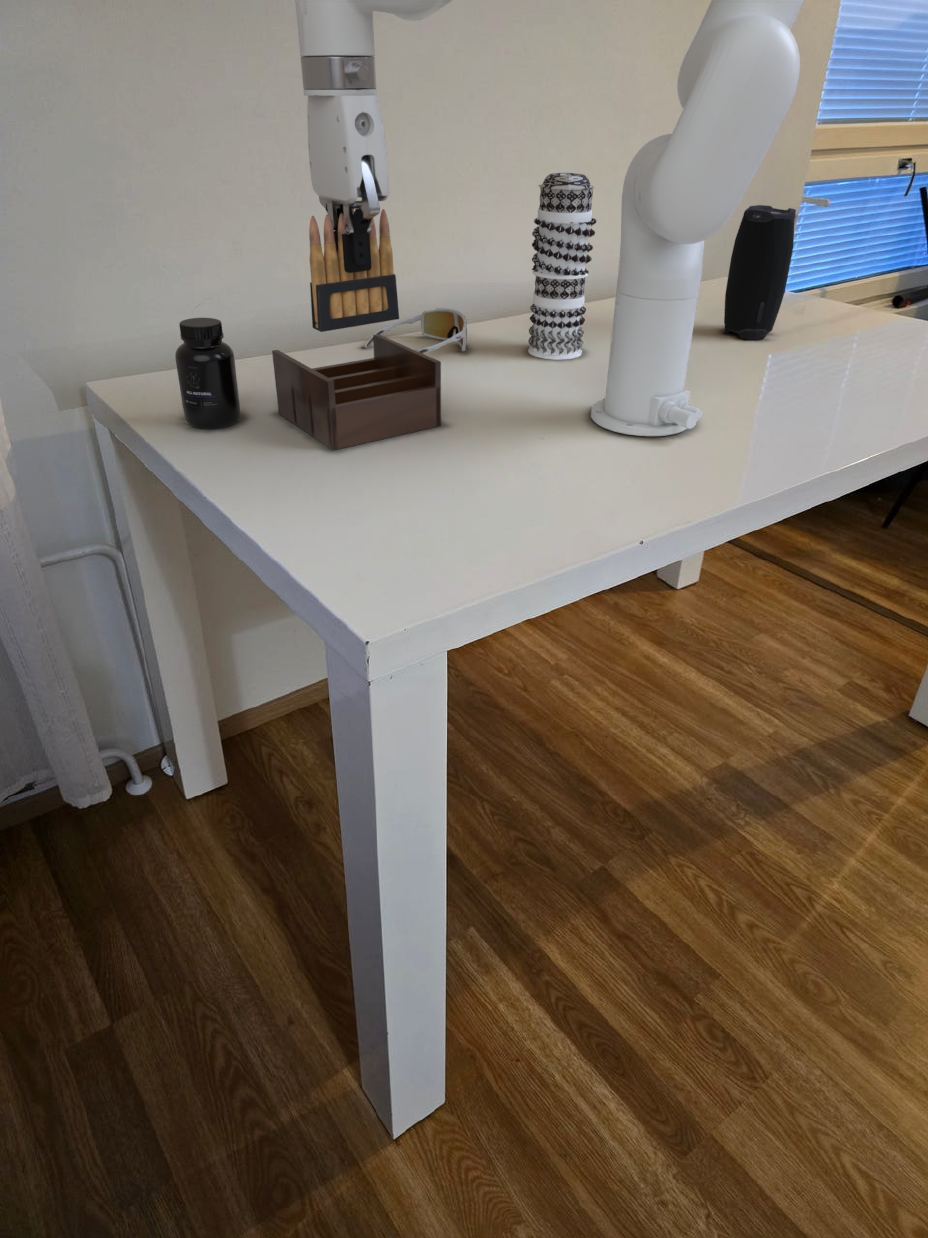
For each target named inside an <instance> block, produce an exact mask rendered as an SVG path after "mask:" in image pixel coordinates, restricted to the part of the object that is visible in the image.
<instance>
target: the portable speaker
mask: <svg viewBox="0 0 928 1238" xmlns="http://www.w3.org/2000/svg"><path fill="white" fill-rule="evenodd" d="M796 212H797V209H795V208H790V207H789V208H788V209H781V208H774V207H773V206H771V205H765V204H756V205H750V206H748V208H746V209H745V210H744V212H743V215H742V218H741V221H740V223H739V227H738V230H737V233H736V236H735V239H734V243H733V247H732V252H731V256H730V261H729V262H730V263H729V268H728V275H727V281H726V286H725V287H726V288H725V292H724V293H725V294H724V317H723V324H724V328H723V334H725V335H727V334H729V333H730V332H732V333H736V334H738V336H739V338H740V339H742V340H746V341H758V340H760V341H761V340H764V339H765V338H766V336H767V335H768V334H769V333H771V332H772V331H773V330H774V326H775V323H776V320H777V318H778V314H779V312H780V310H781V306H782V303H783V301H784V297H785V293H786V288H787V283H788V278H789V272H790V268H791V261H792V257H793V251H794V242H795V241H794V239H795V219H796V217H797V213H796Z"/></svg>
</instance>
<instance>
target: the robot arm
mask: <svg viewBox="0 0 928 1238" xmlns="http://www.w3.org/2000/svg"><path fill="white" fill-rule="evenodd" d="M294 1H295V11H296V13H295V14H296V23H297V33H298V34H297V35H298V45H299V55H300V68H301V79H302V89H303V96H307V107H306V108H307V115H306V116H307V145H308V162H309V170H310V178H311V180H310V181H311V185H312V189H313V191H314V193H315V195H317V196H318V201H319V203H320V205H321V206H322V207H323V208H324V209H325V211H326V214H328V215H329V217H330V219H331V222H332V226H333V230H334V237H335V244H336V251H337V255H338V222H339V216H340V214H341V213H343V215H344V228H345V232H346V234H342V244H343V257H344V269H345V271H346V272H348V273H353V272H361V271H369V270H370V269H371V251H370V235H369V233H370V232H371V221H372V218H375V217H376V216H378V215H380V214H381V207H380V202H385V201H386V200H387V199H388V198H389V196H390V176H389V165H388V164H389V163H388V153H387V144H386V143H387V142H386V134H385V128H384V122H383V114H382V110H381V105H380V104H381V103H380V100H379V97H378V92H377V91H378V90H377V74H376V73H377V72H376V71H377V70H376V57H375V56H376V53H375V52H376V51H375V49H376V48H375V35H374V34H375V33H374V31H375V30H374V14H373V13H374V12H378V13H385V14H393V15H394V16H396V17H397V18H399V19H402V20H404V21H410V22H416V21H421V20H424V19H426V18H429V17H430V16H432V15H434V14H435V13H436V12H438V11H440V10H441V9H442V8H443V7H445V6H447V5H448V4H449V3H451V2H452V1H453V0H294ZM804 2H805V0H711V1H710V3H709V5H708V7H707V10H706V12H705V14H704V16H703V18H702V20H701V22H700V25H699V28H698V29H697V31H696V33H695V35H694V36H693V39H692V41H691V43H690V45H689V47H688V48H687V51H686V53H685V55H684V58H683V59H682V62H681V66H680V68H679V72H678V77H677V83H676V85H677V86H676V88H677V90H676V91H677V96H678V100H679V103H680V106H681V108H682V111H681V113H680V115H679V117H678V120H677V122H676V124H675V126H674V129H673V130H672V133H667V134H662V135H659V136H657V137H655V138H653V139H651V140H650V141H648V142H646V143H645V144H644V145H643V146H642V147H641V148H640V149H639V150H637V152H636V154H635V155H634V157H632V159H631V161H630V163H629V165H628V167H627V169H626V173H625V176H624V179H623V180H624V181H623V185H622V194H621V217H620V218H621V220H620V248H619V260H618V271H617V273H618V274H617V281H616V290H615V291H616V292H615V301H614V309H613V319H612V329H611V336H610V337H611V339H610V349H609V357H608V358H609V359H608V366H607V376H606V386H605V395H604V398H603V399H600V400H598V401H596V402H595V403H594V404H593V405H592V406H591V411H590V418H591V419H592V421H593V422H594V423H595V424H596V425H598V426H600V427H601V428H603V429H605V430H608V431H612V432H615V433H619V434H623V435H629V436H637V437H663V436H672V435H676V434H679V433H682V432H684V431H686V430H692V429H693V428H695V426H696V425H697V422H698V421H699V420H700V419H701V418H702V417H703V415H704V414H703V413H704V410H703V409H702V408H700V407H698V406H695V405H690V403H689V402H690V396H691V391H690V390H687V389H685V384H686V379H687V370H688V364H689V358H690V351H691V346H692V339H693V333H694V325H695V319H696V313H697V307H698V300H699V295H700V290H701V283H702V277H703V267H704V257H705V241H706V240H708V239H710V238H712V237H713V236H714V235H716V234H717V233H718V232H719V231H720V230H722V229H723V228H724V227H725V226H726V225H727V223H728V222H729V221H730V220H731V218H732V217H733V215H734V214H735V213H736V211H737V209H738V208H739V206H740V204H741V203H742V201H743V199H744V197H745V195H746V193H747V191H748V190H749V188H750V187H751V184H752V182H753V180H754V178H755V177H756V175H757V173H758V171H759V169H760V167H761V165H762V163H763V161H764V159H765V157H766V155H767V154H768V151H769V150H770V149H771V146H772V144H773V142H774V141H775V139H776V136H777V135H778V132H779V130H780V129H781V127H782V125H783V123H784V121H785V119H786V116H787V114H788V113H789V111H790V109H791V106H792V103H793V101H794V98H795V95H796V92H797V90H798V89H797V88H798V85H799V80H800V74H801V73H800V72H801V54H800V50H799V45H798V42H797V40H796V38H795V36H794V34H793V32H792V29H793V27H794V24H795V22H796V20H797V18H798V16H799V13H800V11H801V9H802V7H803V5H804ZM358 198H360V199H361V200H357V199H358Z"/></svg>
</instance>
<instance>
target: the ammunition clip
mask: <svg viewBox="0 0 928 1238" xmlns="http://www.w3.org/2000/svg"><path fill="white" fill-rule="evenodd" d="M378 225H379V226H378V227H379V230H378V233H379V234H378V235H379V236H378V237H379V239H377V229H376V223H375V217H373V218H372V221H371V232H370V233H369V235H370V251H371V269H370V270H369V271H361V272H353V273H348V272H346V271H345V269H344V257H343V244H342V234H346V232H345V228H344V215H343V213H341V214H340V216H339V222H338V255H337V251H336V244H335V237H334V231H335V230H333V226H332V222H331V219H330V217H329V215H328V213H326V215H325V218H324V223H323V249H322V242H321V234H320V229H319V225H318V222H317V220H316V217H315V216H314V215H311V218H310V221H309V229H308V231H309V233H308V235H309V270H310V280H311V282H309V287H310V288H309V289H310V291H309V292H310V305H311V306H310V307H311V325H312V326H311V327H312V329H314V330H316V331H318V332H320V333H324V332H330V331H335V330H342V329H348V328H353V327H359V326H365V325H372V324H378V323H384V322H389V321H397V320H399V319H400V311H399V299H398V297H399V296H398V287H397V278H396V277H397V276H396V273H395V272H394V256H393V247H392V242H391V241H392V240H391V234H390V232H391V231H390V223H389V219H388V214H387V212H386V210H385V209H384V208H382V210H381V211H380V217H379V224H378ZM378 241H379V244H378ZM323 250H324V251H323Z"/></svg>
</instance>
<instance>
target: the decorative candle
mask: <svg viewBox="0 0 928 1238" xmlns="http://www.w3.org/2000/svg"><path fill="white" fill-rule="evenodd" d="M538 188H539V189H540V194H539V207H538V209H537V217H535V218H534V220H533V222H534V224H535V225H537V226H536V227H535V228H534V229H533V231H532V233H531V235H532V237H534V240H533V242H532V243H531V247H532V248H533V250H534V251H536V253H534V254H533V256H532V257H531V261H532V263H533V264H534V265H533V266H532V268H531V271H532V274H533V275H534V276H535V280H534V291H533V293H532V304H531V305H530V307H529V308H530V311H531V312H532V314H531V315H530V317H529V321H530V322H531V323H532V325H530V327H529V328H528V334H529V335H530V337H529V338H528V340H527V341H528V344H529V348H528V350H527V352H528V353H529V355H531V356H533V357H535V358H540V359H544V360H555V361H561V360H571V359H576V358H579V357H580V356H581V355H582V353H583V350H582V349H581V348H583V345H584V340H583V339H582V338H583V337H584V334H585V330H584V328H583V327H582V325H584V324H585V322H586V318H585V317H583V315H585V314H586V312H587V308H586V307H585V306H584V305H585V299H586V294H585V286H586V278H587V277H588V276H589V272H590V271H589V270H588V269H587V268H586V265H587V264H588V263H590V262H591V261H592V260H593V258H592V257H591V255H589V254H588V253H589V252H591V251H593V249H594V245H592V244H590V242H589V241H588V240H589V239H591V238H592V237H593V236H595V234H596V231H595V230H594V229H593V228H591V227H593V226H594V225H595V224H596V223H597V219H596V218H595V217H594V218H593V209H592V206H593V205H592V204H593V193H594V189H595V188H596V186H593V185H592V184H591V182H590V179H589V177H588V176H587V175H586V174H584V173H583V174H582V173H575V172H553V173H549V174H548V175H546V176H545V178H544V180H543V181H542V183H541V184H538Z"/></svg>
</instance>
